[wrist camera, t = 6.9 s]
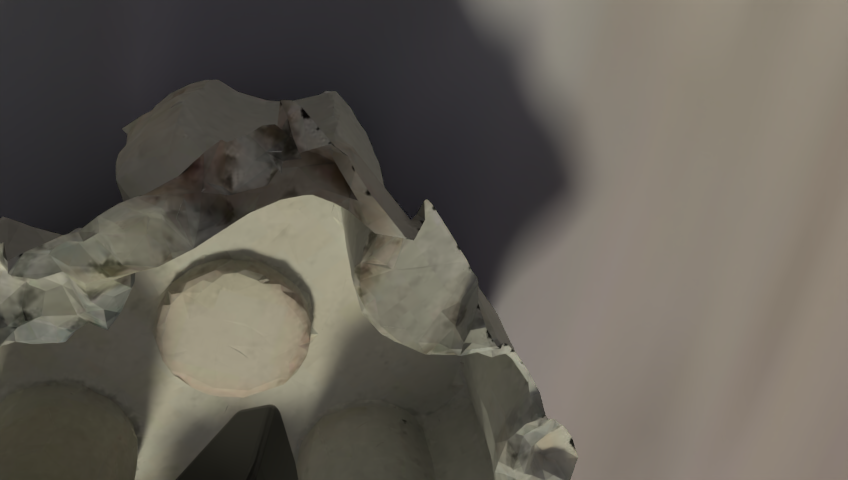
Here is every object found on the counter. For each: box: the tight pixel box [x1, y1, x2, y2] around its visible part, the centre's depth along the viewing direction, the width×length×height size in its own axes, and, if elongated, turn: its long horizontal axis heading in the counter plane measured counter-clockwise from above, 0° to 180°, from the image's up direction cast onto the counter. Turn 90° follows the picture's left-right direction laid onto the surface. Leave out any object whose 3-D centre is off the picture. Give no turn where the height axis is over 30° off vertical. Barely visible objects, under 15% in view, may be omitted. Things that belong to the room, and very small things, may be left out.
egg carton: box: [0, 80, 578, 480], centre depth 10 cm, size 11×8×4 cm
